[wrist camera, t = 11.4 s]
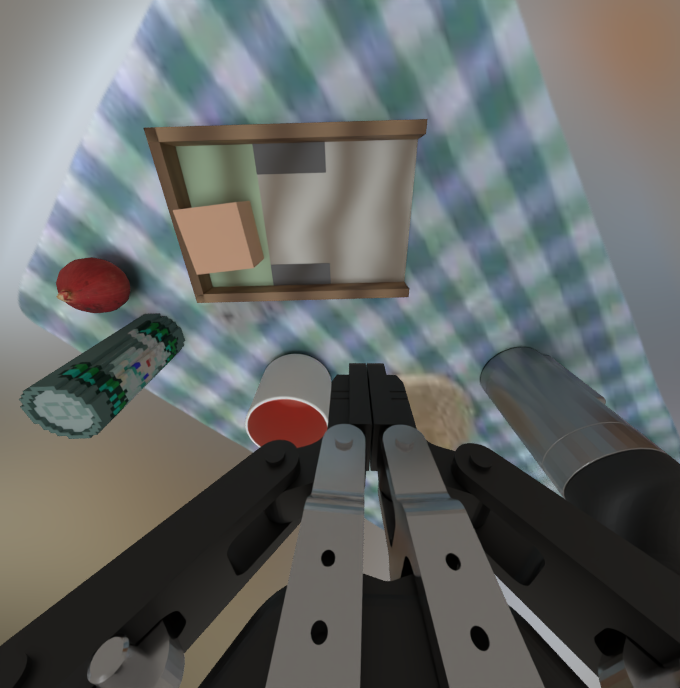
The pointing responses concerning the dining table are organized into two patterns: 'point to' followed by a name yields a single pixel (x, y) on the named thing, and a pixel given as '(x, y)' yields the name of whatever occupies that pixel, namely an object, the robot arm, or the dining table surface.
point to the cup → (291, 402)
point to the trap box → (300, 203)
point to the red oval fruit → (93, 285)
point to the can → (102, 378)
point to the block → (220, 237)
